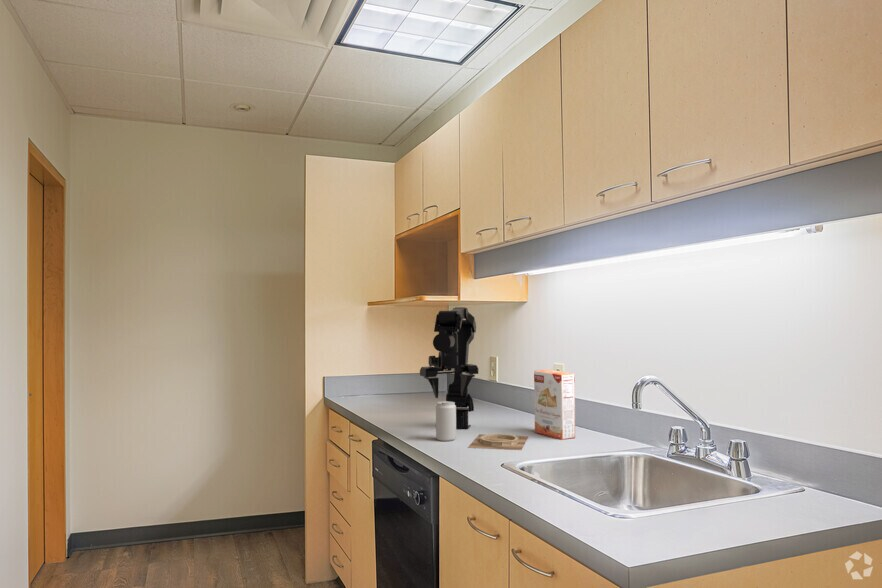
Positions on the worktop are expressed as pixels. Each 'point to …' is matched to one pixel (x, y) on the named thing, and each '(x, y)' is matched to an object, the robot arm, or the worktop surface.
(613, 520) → the worktop surface
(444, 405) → the beverage can
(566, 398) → the cracker box
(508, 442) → the can holder
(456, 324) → the robot arm
